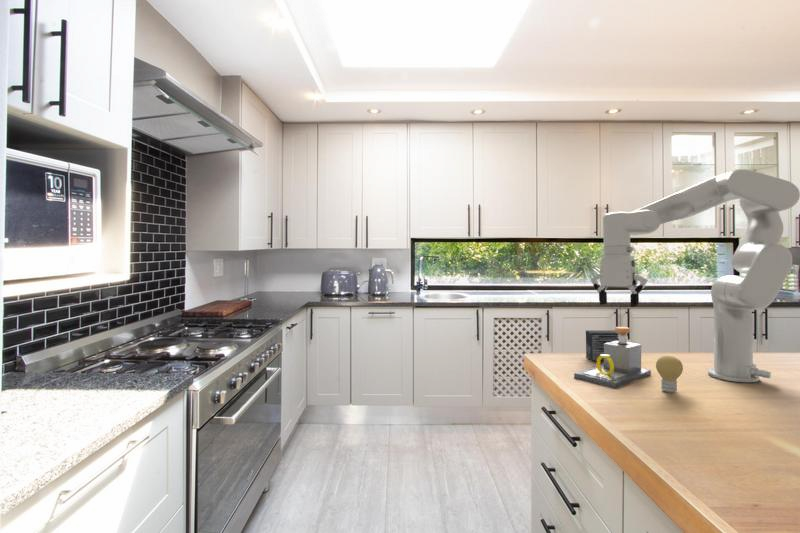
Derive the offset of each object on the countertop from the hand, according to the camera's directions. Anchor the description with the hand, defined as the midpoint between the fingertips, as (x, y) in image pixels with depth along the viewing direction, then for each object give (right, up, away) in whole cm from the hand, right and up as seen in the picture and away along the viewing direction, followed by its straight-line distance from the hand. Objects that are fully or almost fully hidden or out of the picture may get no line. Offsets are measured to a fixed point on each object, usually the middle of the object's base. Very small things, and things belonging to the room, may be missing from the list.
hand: (618, 305), depth 134 cm
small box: (+5, -22, +20) cm, 30 cm away
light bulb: (+6, -23, -16) cm, 28 cm away
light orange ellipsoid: (+3, -15, +3) cm, 16 cm away
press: (-2, -23, -1) cm, 23 cm away
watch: (-6, -21, -4) cm, 22 cm away
